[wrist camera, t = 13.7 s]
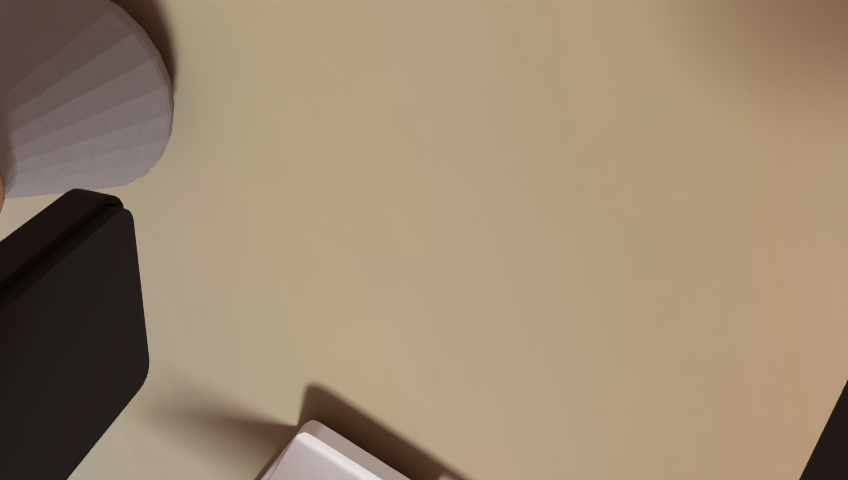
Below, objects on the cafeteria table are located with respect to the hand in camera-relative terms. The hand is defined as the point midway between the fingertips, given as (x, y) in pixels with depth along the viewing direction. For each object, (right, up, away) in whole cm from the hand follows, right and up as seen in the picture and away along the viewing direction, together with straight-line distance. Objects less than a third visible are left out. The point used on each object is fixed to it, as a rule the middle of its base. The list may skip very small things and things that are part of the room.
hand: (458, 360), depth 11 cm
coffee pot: (-21, +8, +38) cm, 44 cm away
